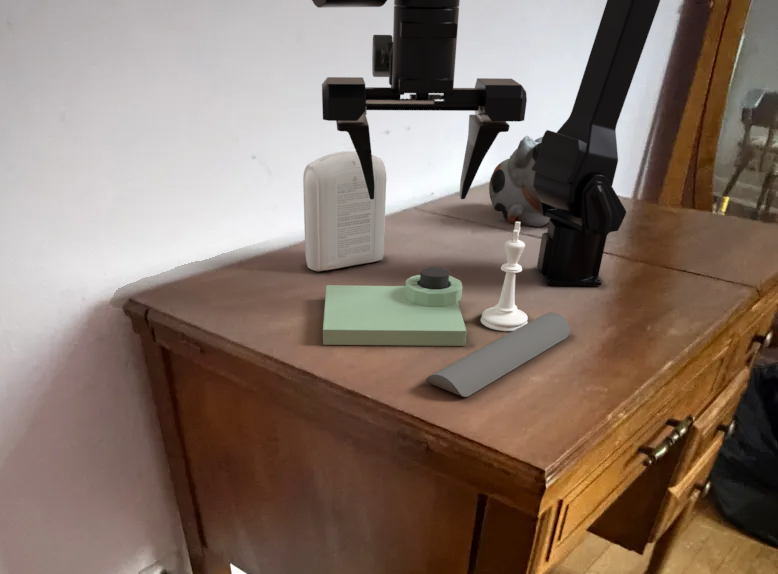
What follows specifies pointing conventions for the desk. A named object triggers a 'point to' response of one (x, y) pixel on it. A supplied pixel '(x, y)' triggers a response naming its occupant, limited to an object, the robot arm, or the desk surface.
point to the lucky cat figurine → (518, 186)
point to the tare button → (434, 278)
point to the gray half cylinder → (501, 355)
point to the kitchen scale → (394, 315)
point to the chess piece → (508, 291)
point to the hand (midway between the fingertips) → (417, 198)
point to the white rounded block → (343, 212)
